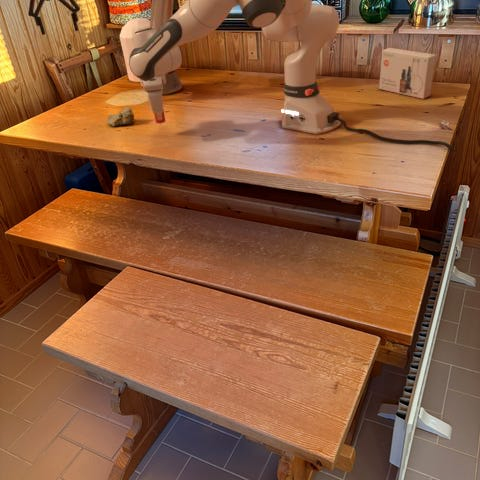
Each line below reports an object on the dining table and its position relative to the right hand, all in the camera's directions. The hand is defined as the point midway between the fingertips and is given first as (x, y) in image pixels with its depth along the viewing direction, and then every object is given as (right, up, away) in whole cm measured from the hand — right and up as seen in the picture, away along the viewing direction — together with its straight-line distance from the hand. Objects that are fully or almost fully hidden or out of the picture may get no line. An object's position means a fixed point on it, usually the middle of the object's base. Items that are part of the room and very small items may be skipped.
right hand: (160, 117), depth 169 cm
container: (-19, +41, +74) cm, 87 cm away
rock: (-19, +2, +18) cm, 26 cm away
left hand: (-45, +41, +22) cm, 64 cm away
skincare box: (+96, +15, +20) cm, 99 cm away
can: (0, -1, +1) cm, 2 cm away
